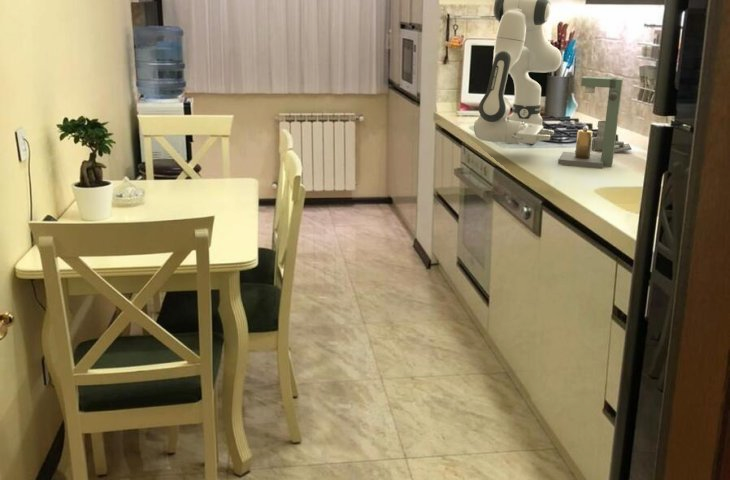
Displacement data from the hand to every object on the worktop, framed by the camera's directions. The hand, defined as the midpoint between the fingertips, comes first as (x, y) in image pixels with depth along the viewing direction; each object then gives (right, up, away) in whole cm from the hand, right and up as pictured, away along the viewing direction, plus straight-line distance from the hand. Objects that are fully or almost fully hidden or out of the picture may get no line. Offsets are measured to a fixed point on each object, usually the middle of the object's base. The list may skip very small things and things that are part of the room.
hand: (551, 135), depth 286 cm
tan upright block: (+11, -9, -2) cm, 14 cm away
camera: (+29, -4, +19) cm, 35 cm away
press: (+12, -11, -4) cm, 17 cm away
